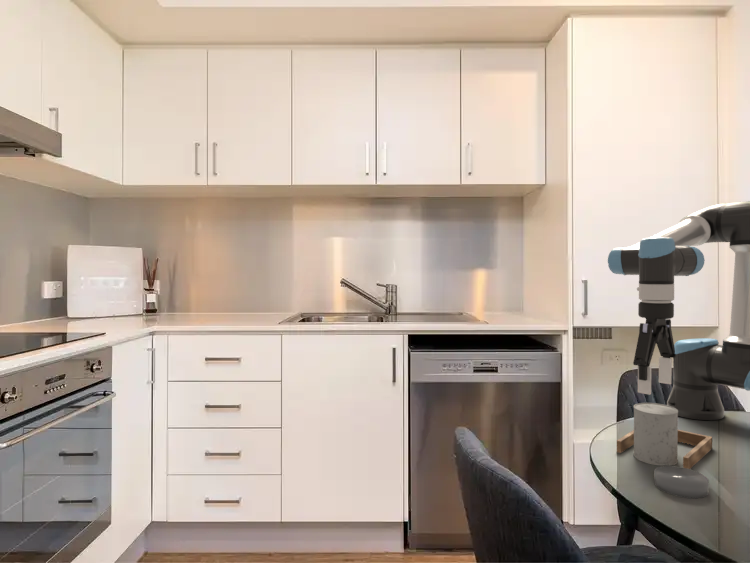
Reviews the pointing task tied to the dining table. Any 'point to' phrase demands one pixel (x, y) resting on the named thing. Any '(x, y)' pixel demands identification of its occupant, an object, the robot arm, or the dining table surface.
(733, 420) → the dining table surface
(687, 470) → the pedestal
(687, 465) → the frame
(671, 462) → the grey marbled pot
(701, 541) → the dining table surface
